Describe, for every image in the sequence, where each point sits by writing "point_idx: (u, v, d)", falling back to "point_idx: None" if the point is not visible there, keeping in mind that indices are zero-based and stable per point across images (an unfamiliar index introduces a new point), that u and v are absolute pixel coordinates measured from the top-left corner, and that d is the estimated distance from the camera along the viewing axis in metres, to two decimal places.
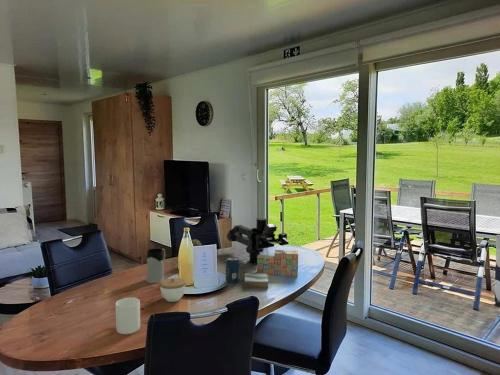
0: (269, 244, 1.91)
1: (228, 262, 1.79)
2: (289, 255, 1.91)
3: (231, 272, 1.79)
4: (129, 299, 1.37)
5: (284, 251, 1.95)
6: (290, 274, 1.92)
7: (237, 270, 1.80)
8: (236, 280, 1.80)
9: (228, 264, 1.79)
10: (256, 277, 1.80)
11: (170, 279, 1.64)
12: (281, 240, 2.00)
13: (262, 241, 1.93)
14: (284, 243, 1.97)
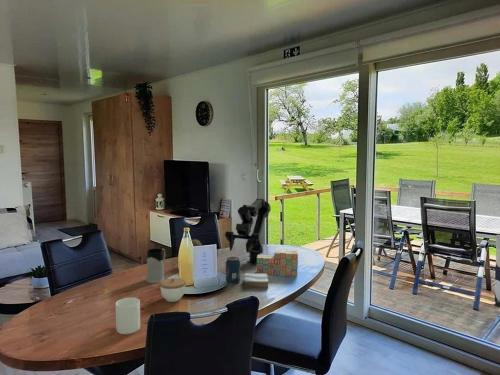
0: None
1: (228, 262, 1.79)
2: (289, 255, 1.91)
3: (231, 272, 1.79)
4: (129, 299, 1.37)
5: (284, 251, 1.95)
6: (290, 274, 1.92)
7: (237, 270, 1.80)
8: (236, 280, 1.80)
9: (228, 264, 1.79)
10: (256, 277, 1.80)
11: (170, 279, 1.64)
12: None
13: (228, 238, 1.94)
14: None
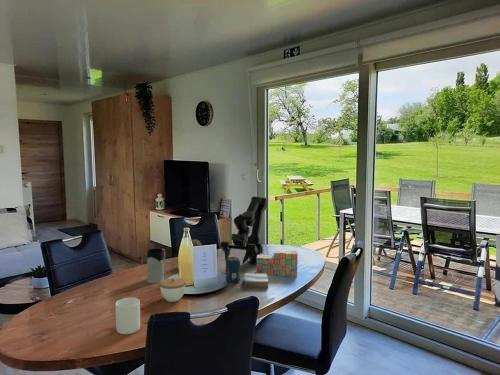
0: None
1: (228, 262, 1.79)
2: (288, 255, 1.91)
3: (231, 272, 1.79)
4: (129, 299, 1.37)
5: (283, 251, 1.95)
6: (289, 274, 1.92)
7: (237, 270, 1.80)
8: (236, 280, 1.80)
9: (228, 264, 1.79)
10: (256, 277, 1.80)
11: (170, 279, 1.64)
12: None
13: (223, 248, 1.89)
14: None
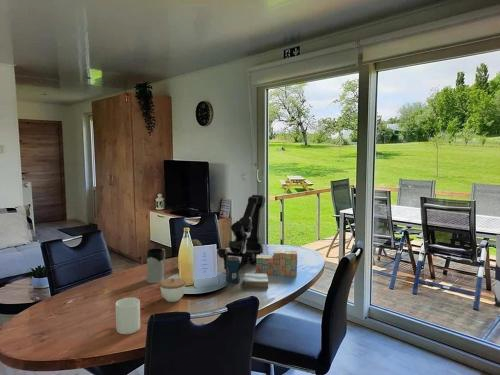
0: None
1: (228, 262, 1.79)
2: (288, 255, 1.91)
3: (231, 272, 1.79)
4: (129, 299, 1.37)
5: (283, 251, 1.95)
6: (289, 274, 1.92)
7: (237, 270, 1.80)
8: (236, 280, 1.80)
9: (228, 264, 1.79)
10: (256, 277, 1.80)
11: (170, 279, 1.64)
12: None
13: (222, 256, 1.86)
14: None
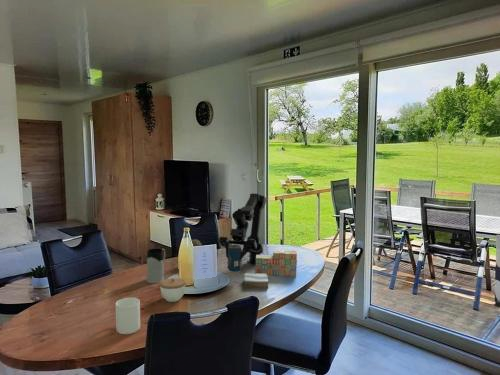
0: None
1: (230, 250, 1.78)
2: (288, 255, 1.91)
3: (233, 260, 1.78)
4: (129, 299, 1.37)
5: (282, 251, 1.95)
6: (289, 274, 1.92)
7: (239, 258, 1.79)
8: (238, 268, 1.79)
9: (230, 252, 1.78)
10: (256, 277, 1.80)
11: (170, 279, 1.64)
12: None
13: (224, 244, 1.85)
14: None
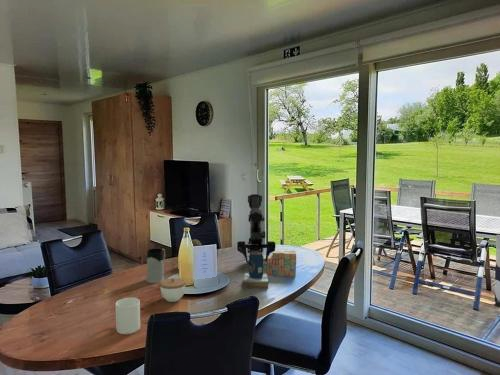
0: (244, 256, 1.79)
1: (253, 257, 1.76)
2: (287, 255, 1.91)
3: (257, 267, 1.76)
4: (129, 299, 1.37)
5: (282, 251, 1.95)
6: (288, 274, 1.92)
7: (262, 264, 1.78)
8: (261, 274, 1.78)
9: (254, 259, 1.76)
10: None
11: (170, 279, 1.64)
12: None
13: (241, 248, 1.81)
14: None
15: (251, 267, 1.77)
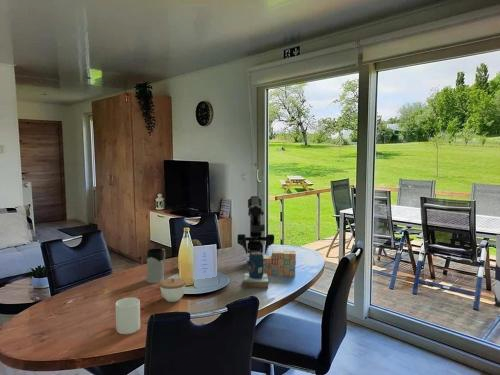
0: (244, 249, 1.86)
1: (254, 257, 1.76)
2: (286, 255, 1.91)
3: (257, 267, 1.76)
4: (129, 299, 1.37)
5: (281, 251, 1.95)
6: (287, 274, 1.92)
7: (262, 264, 1.78)
8: (261, 274, 1.78)
9: (254, 259, 1.76)
10: None
11: (170, 279, 1.64)
12: None
13: (241, 241, 1.88)
14: None
15: (251, 267, 1.77)
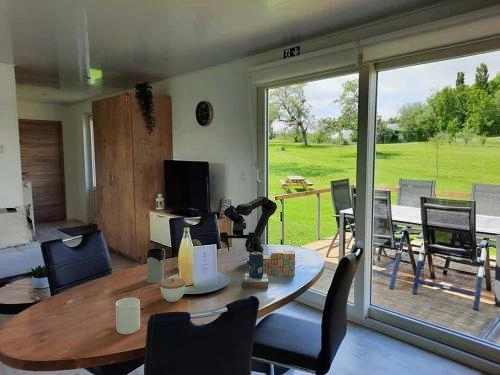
0: (226, 246, 1.90)
1: (254, 257, 1.76)
2: (286, 255, 1.91)
3: (257, 267, 1.76)
4: (129, 299, 1.37)
5: (281, 251, 1.95)
6: (287, 274, 1.92)
7: (262, 264, 1.78)
8: (261, 274, 1.78)
9: (254, 259, 1.76)
10: None
11: (170, 279, 1.64)
12: None
13: (223, 239, 1.92)
14: None
15: (251, 267, 1.77)
